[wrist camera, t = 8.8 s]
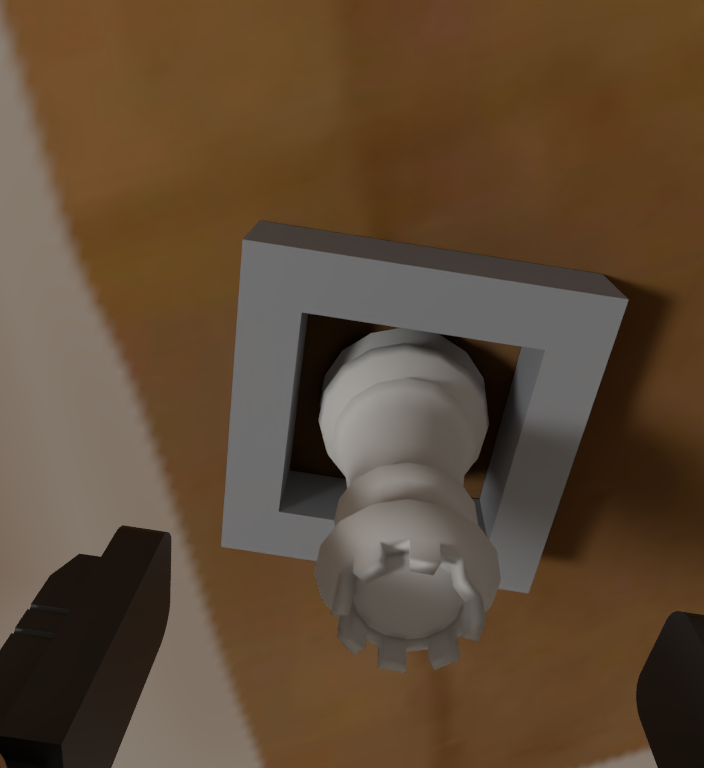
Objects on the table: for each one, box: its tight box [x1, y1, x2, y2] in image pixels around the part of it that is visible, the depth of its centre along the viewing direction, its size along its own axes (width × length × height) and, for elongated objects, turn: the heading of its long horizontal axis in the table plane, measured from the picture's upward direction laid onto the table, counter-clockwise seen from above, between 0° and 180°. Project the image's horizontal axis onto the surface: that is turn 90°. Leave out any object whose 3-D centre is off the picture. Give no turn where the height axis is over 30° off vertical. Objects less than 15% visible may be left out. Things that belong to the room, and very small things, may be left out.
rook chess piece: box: [314, 328, 501, 673], centre depth 14 cm, size 4×4×8 cm
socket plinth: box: [221, 221, 629, 593], centre depth 17 cm, size 8×8×2 cm
